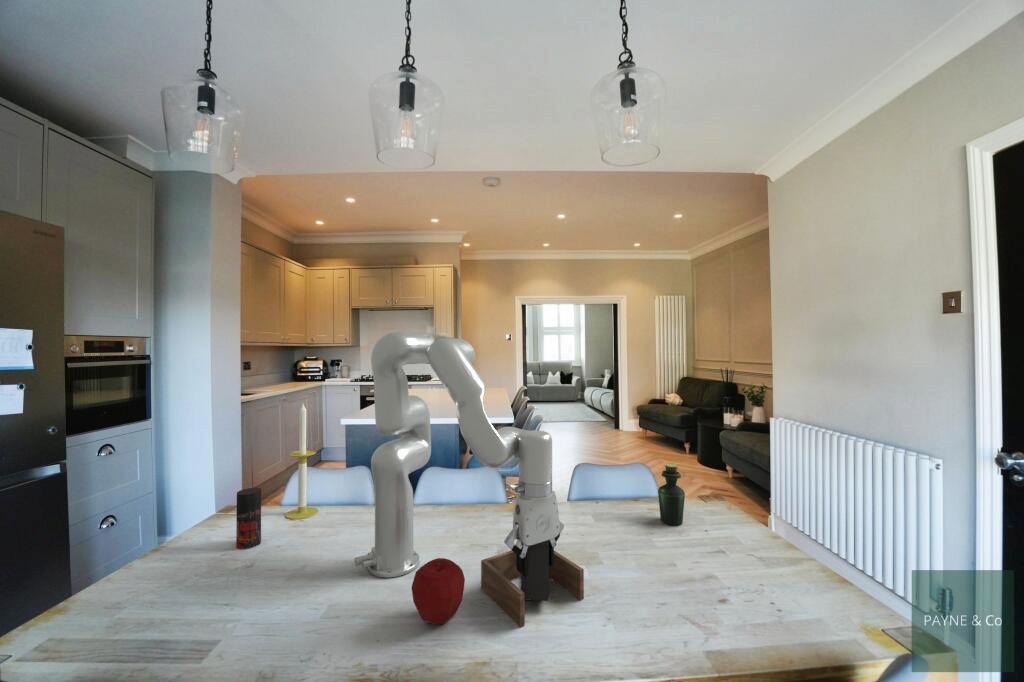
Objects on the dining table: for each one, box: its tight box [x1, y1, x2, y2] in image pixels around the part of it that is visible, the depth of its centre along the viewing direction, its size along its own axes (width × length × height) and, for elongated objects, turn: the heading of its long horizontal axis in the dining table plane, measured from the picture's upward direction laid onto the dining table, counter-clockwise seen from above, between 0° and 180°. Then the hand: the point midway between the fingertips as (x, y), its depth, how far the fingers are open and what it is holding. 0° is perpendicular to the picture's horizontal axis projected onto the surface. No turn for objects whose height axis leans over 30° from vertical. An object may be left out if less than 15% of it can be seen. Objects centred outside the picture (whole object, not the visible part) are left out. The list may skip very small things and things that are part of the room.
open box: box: [480, 546, 585, 628], centre depth 93 cm, size 17×16×6 cm
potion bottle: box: [657, 463, 686, 527], centre depth 132 cm, size 8×8×18 cm
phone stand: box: [520, 540, 550, 602], centre depth 92 cm, size 9×6×12 cm, turn 174°
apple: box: [411, 557, 466, 626], centre depth 85 cm, size 11×11×12 cm
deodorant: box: [235, 487, 262, 550], centre depth 117 cm, size 6×6×15 cm
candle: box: [284, 403, 319, 521], centre depth 139 cm, size 10×10×38 cm
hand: (535, 567), depth 92 cm, fingers closed on phone stand, 6 cm apart
